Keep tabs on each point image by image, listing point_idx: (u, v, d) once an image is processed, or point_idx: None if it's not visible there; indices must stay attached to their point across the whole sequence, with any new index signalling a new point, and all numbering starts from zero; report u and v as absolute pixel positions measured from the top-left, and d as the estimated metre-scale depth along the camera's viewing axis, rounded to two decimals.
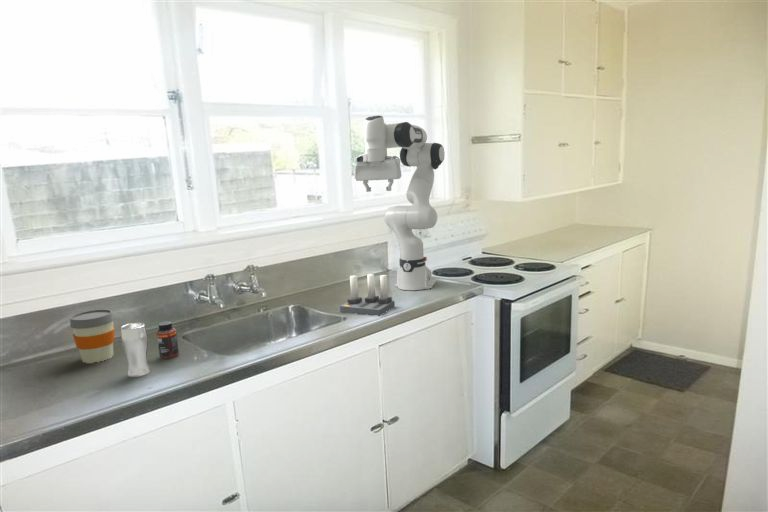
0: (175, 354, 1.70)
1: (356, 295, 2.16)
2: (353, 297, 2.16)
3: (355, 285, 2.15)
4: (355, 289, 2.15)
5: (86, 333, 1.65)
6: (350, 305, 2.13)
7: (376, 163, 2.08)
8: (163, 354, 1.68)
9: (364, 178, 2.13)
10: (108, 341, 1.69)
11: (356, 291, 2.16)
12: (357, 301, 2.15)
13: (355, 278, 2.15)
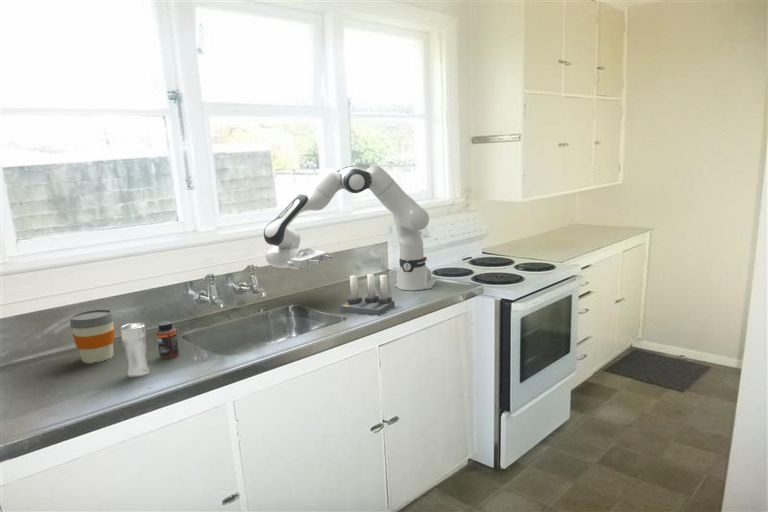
0: (175, 354, 1.70)
1: (356, 295, 2.16)
2: (353, 297, 2.16)
3: (355, 285, 2.15)
4: (355, 289, 2.15)
5: (86, 333, 1.65)
6: (350, 305, 2.13)
7: None
8: (163, 354, 1.68)
9: (321, 261, 2.28)
10: (108, 341, 1.69)
11: (356, 291, 2.16)
12: (357, 301, 2.15)
13: (355, 278, 2.15)
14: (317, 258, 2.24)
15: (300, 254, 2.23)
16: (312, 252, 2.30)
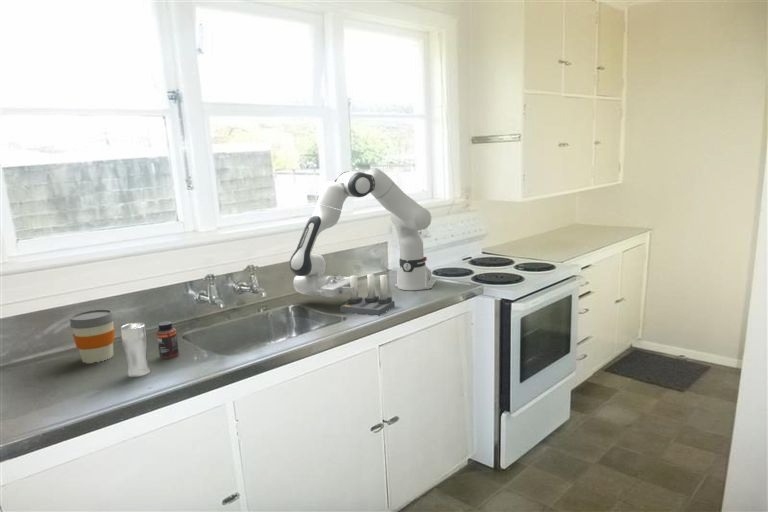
0: (175, 354, 1.70)
1: (356, 295, 2.16)
2: (353, 297, 2.16)
3: (355, 285, 2.15)
4: (355, 289, 2.15)
5: (86, 333, 1.65)
6: (350, 305, 2.13)
7: None
8: (163, 354, 1.68)
9: None
10: (108, 341, 1.69)
11: (356, 291, 2.16)
12: (357, 301, 2.15)
13: (355, 278, 2.15)
14: (347, 285, 2.20)
15: (329, 282, 2.19)
16: (341, 279, 2.25)
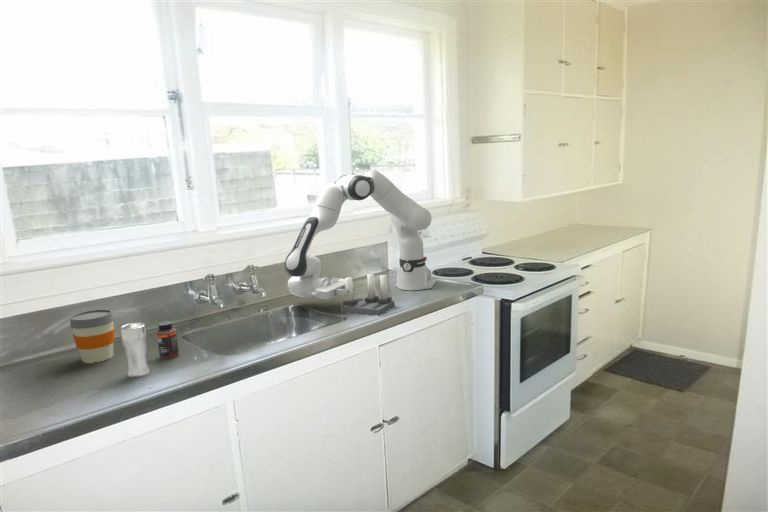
0: (175, 354, 1.70)
1: (351, 297, 2.12)
2: (348, 299, 2.12)
3: (350, 287, 2.11)
4: (350, 291, 2.12)
5: (86, 333, 1.65)
6: None
7: None
8: (163, 354, 1.68)
9: None
10: (108, 341, 1.69)
11: (351, 293, 2.12)
12: (352, 303, 2.12)
13: (350, 280, 2.11)
14: (342, 288, 2.17)
15: (324, 284, 2.15)
16: (336, 281, 2.22)
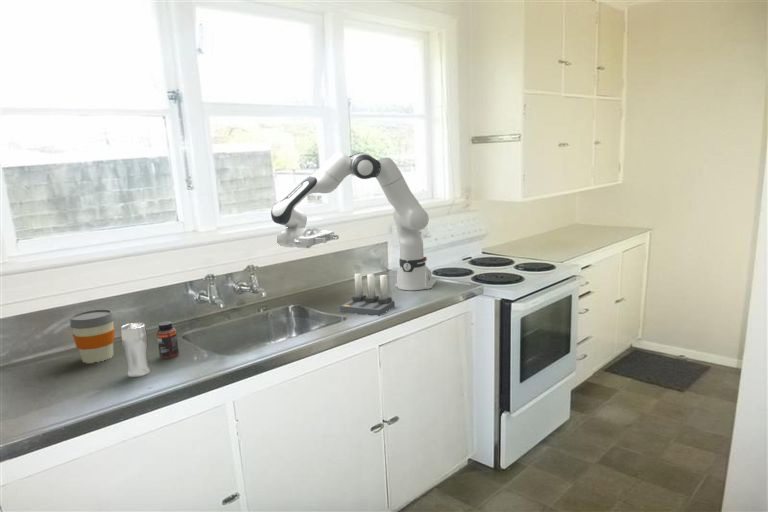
0: (175, 354, 1.70)
1: (361, 293, 2.19)
2: (358, 295, 2.19)
3: (360, 283, 2.18)
4: (359, 287, 2.19)
5: (86, 333, 1.65)
6: (350, 305, 2.13)
7: None
8: (163, 354, 1.68)
9: (328, 240, 2.31)
10: (108, 341, 1.69)
11: (361, 289, 2.19)
12: (362, 299, 2.19)
13: (360, 276, 2.18)
14: (323, 237, 2.28)
15: (307, 233, 2.27)
16: (318, 232, 2.33)
